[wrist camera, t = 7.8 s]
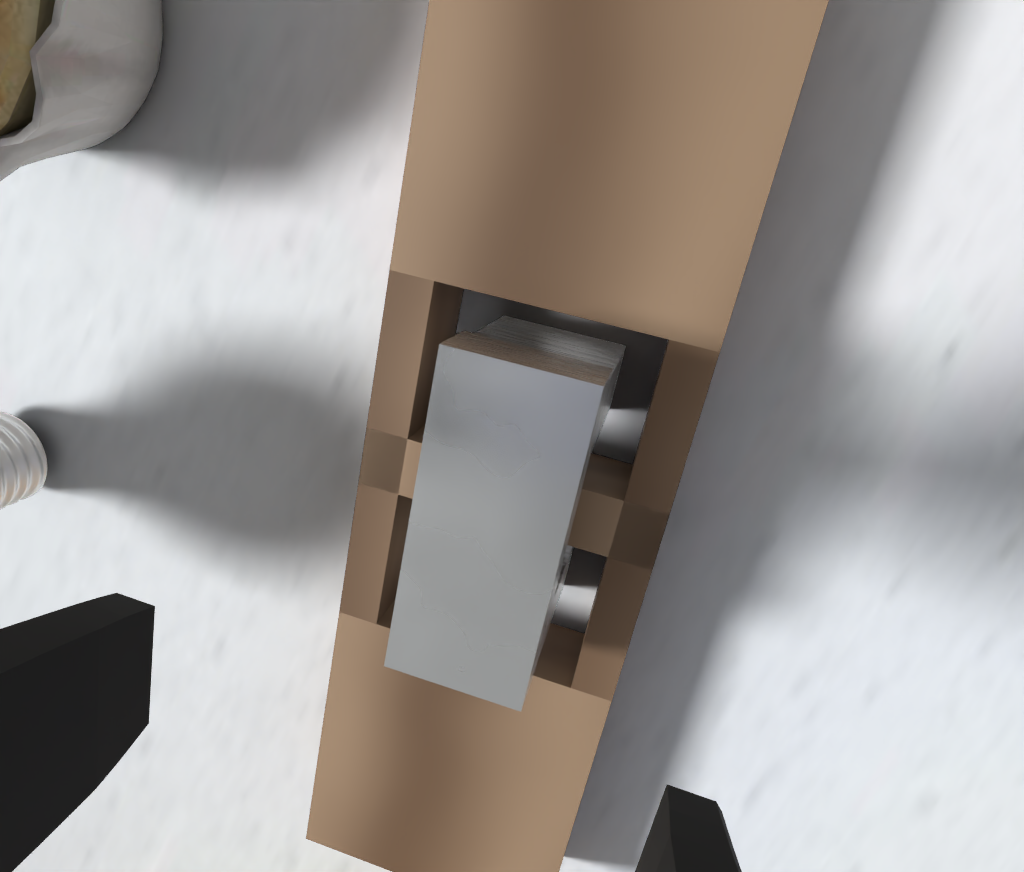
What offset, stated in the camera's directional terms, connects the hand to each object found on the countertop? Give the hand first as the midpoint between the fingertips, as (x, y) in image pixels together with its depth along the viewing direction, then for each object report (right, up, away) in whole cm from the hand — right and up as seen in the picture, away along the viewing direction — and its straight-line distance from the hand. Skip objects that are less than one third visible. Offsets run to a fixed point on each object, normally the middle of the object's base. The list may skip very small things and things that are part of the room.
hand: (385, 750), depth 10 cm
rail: (+2, +3, +9) cm, 10 cm away
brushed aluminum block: (+2, +4, +9) cm, 10 cm away
